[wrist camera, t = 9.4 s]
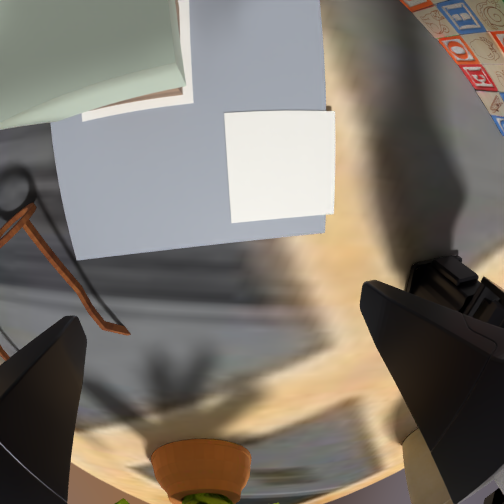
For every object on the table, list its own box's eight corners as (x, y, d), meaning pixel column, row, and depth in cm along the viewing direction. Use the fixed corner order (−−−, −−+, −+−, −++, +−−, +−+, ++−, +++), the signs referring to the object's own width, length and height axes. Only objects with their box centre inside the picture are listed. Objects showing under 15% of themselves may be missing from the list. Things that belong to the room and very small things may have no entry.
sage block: (186, 85, 12) (175, 62, 6) (57, 121, 11) (-21, 133, 6) (171, -30, 9) (160, -103, 4) (47, 9, 8) (-20, -28, 3)
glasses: (43, 192, 18) (9, 215, 14) (132, 330, 24) (123, 372, 20) (-42, 264, 19) (-70, 291, 14) (36, 367, 24) (21, 403, 20)
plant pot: (447, 429, 46) (482, 485, 31) (383, 465, 46) (412, 527, 31) (459, 392, 39) (507, 459, 25) (383, 437, 39) (423, 515, 25)
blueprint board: (330, 230, 23) (332, 232, 22) (78, 258, 20) (76, 260, 20) (322, -34, 14) (323, -36, 14) (52, -8, 12) (50, -9, 11)
